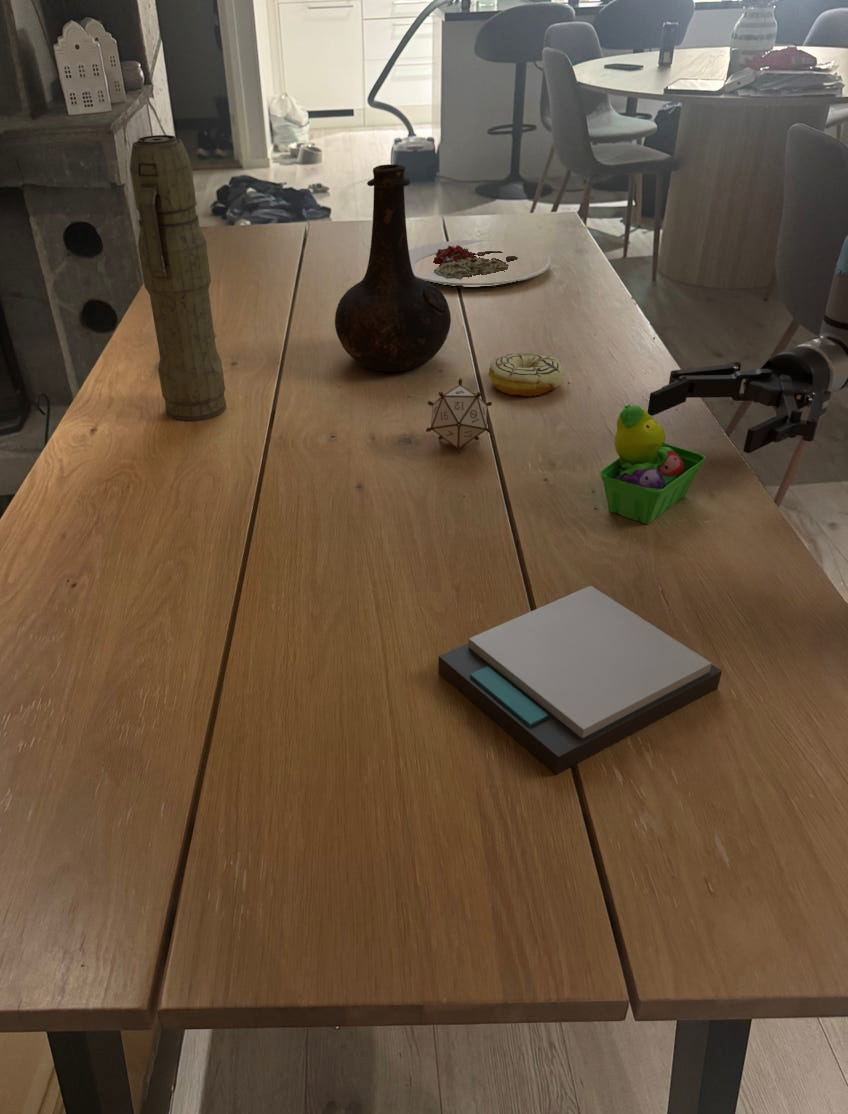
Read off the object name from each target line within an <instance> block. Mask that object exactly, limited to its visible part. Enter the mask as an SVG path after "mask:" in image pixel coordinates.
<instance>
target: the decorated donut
mask: <svg viewBox="0 0 848 1114" xmlns="http://www.w3.org/2000/svg"><path fill="white" fill-rule="evenodd" d="M488 371H489V372H488V376H489V379H490V381H491V382H492V384H493V386H494V387H495V388H496V389H497V390H498V391H500V392H502V393H504V394H507V395H509V396H521V397H532V396H533V395H534V397H537V396H540V395H542V394H543V393H544V394H546V393H549V392H551V391H554V390H553V389H555V388H556V389H557V388H558V387H559V386H560V385H561V384H562V381H563V377H564V374H565V369H564V366H563V364H562V363H561V362H560V361H559V360H558V359H557V358H555V357H553V356H551V355H545V354H538V353H532V352H527V353H526V352H525V353H509V354H506V355H502V356H499V357H497V358H495V359H493V360H492V362H490V363H489V368H488ZM556 389H555V390H556ZM550 390H551V391H550ZM548 391H549V392H548ZM536 395H537V396H536Z"/></svg>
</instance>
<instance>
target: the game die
mask: <svg viewBox="0 0 848 1114" xmlns="http://www.w3.org/2000/svg"><path fill="white" fill-rule="evenodd" d="M457 383H458V385H457V386H455V387H454V388H452V389H450V390H449V391H447V392H446V393H444V392H443V391H438V396H439V398H438V399H437V400H435V401H434V402H433V401H431V400H429V401H427V405H428V406H432V407H431V420H430V421H431V422H430V427H426V430H425V432H428V433H429V432H431V431H433V432H434V433H436V434H437V435H438V441H440V440H443V439H444V440H445V441H446V442H448V443H449V444H450V445H452V446H453V447H455V448H456V450H455V453H456V455H457V456H459V455H460V454H461V448H463V447H464V446H465V445H467V444H468V443H470V442H471V441H473V440H475V441H479V440H480V437H479V436H480V435H481V434H483V433H484V432H487V433H488V434H489V433H493V430H492V428H490V427H488V407H492V404H493V401H488V402H487V403H486V402H485V401H484V400H483V399H482V398H481V396H482V392H481V391H478V392H477V393H474V392H473V391H472V390H469V388H467V387H465V386H464V385H463V379H462V378H461V377H459V379H458V382H457Z"/></svg>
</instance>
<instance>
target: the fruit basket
mask: <svg viewBox="0 0 848 1114" xmlns="http://www.w3.org/2000/svg"><path fill="white" fill-rule="evenodd" d="M647 412H648V411H646V410H645V409H644V408H642V407H641V406H639V405H631V404H627V405H624V409H623V408H622V410H621V411H620V413H619V415H618V417H617V419H616V420H617V421H616V433H615V437H614V448H615V451H616V453H617V455H618V458H617V459H616V460H614V461H613V462H611V463H610V464H609V465H607V466H606V467H604V468H603V469H602V470H600V476H601V481H602V482H603V486H604V492H605V498H606V503H607V508H608V511H609V512H611V513H613V514H618V515H620V516H622V517H625V518H628V519H630V520H633V521H637V522H641V523H642V524H644V525H649V524H650V523H652V522H653V521H655V519H656V518H657V517H659V516H661V515H662V514H663V513H665V512H666V511H667V509H670V508H671V507H673V506H674V505H675V504H677V502H678V501H680V500H682V499H683V498H684V497H686V495H687V493H688V491H689V488H690V487H691V485H692V483H693V481H694V479H695V477H696V475H697V473H698V471H699V469H700V468H701V467H702V465H703V464H704V462H705V460H706V456H705V455H703V454H702V453H699V452H695V451H693V450H690V449H686V448H683V447H679V446H675V445H672V444H669V443H665V441H666V433H665V431H664V429H663V427H662V426H661V425H660V424H659V422H658V421H657V420H656V419H654V417H653V416H651V415H649V414H648V413H647Z"/></svg>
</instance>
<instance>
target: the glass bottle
mask: <svg viewBox="0 0 848 1114" xmlns="http://www.w3.org/2000/svg"><path fill="white" fill-rule="evenodd" d="M405 171H406V166H404V165H402V164H398V163H397V164H396V163H394V164H381V165H377V166H375V167H373V169H372V174H373V178H372V179H370V180H368V181H367V182H366V185H367V186H368V187H373V205H372V226H371V238H370V239H371V240H370V249H369V255H368V262H367V268H366V271H365V274H364V276H363V278H362V280H360V281H359V282H357V283H355V284H354V285H353V286H352V287H350V288H349V289H348V290H347V291H345V293H344V294H343V295H342V297H341V298H340V299H339V302H338V303H337V307H336V309H335V310H336V311H335V315H334V327H335V328H334V329H335V332H336V335H337V338H338V340H339V342H340V344H341V347H343V349H344V350H345V352H346V353H347V354H348V355H349V356H350V357H351V358H352V359H353V360H354V361H355V362H357V363H358V364H359V365H362V366H364V367H365V368H367V369H371V370H375V371H379V372H390V373H391V372H393V373H394V372H402V371H404V372H405V371H409V370H412V369H415V368H418V367H421V366H423V365H424V364H426V363H428V362H429V361H430V360H432V359H433V358H434V357H435V356H436V355H437V354H438V352H439V351H440V350H441V349H442V347H443V346H444V344H445V342H446V340H447V339H448V336H449V333H450V329H451V323H452V317H451V316H452V315H451V311H450V306H449V303H448V301H447V298H446V297H445V295H444V293H442V291H441V290H440V288H438V287H437V286H435V284H433V283H430V282H427V281H424V280H422V279H418V278H416V277H415V275H414V273H413V270H412V267H411V262H410V256H409V250H410V249H409V242H408V232H407V231H408V230H407V219H406V203H405V202H406V201H405V187H406V186H409V185H410V184H411V180H410V179H409V178H407V177H405Z"/></svg>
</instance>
